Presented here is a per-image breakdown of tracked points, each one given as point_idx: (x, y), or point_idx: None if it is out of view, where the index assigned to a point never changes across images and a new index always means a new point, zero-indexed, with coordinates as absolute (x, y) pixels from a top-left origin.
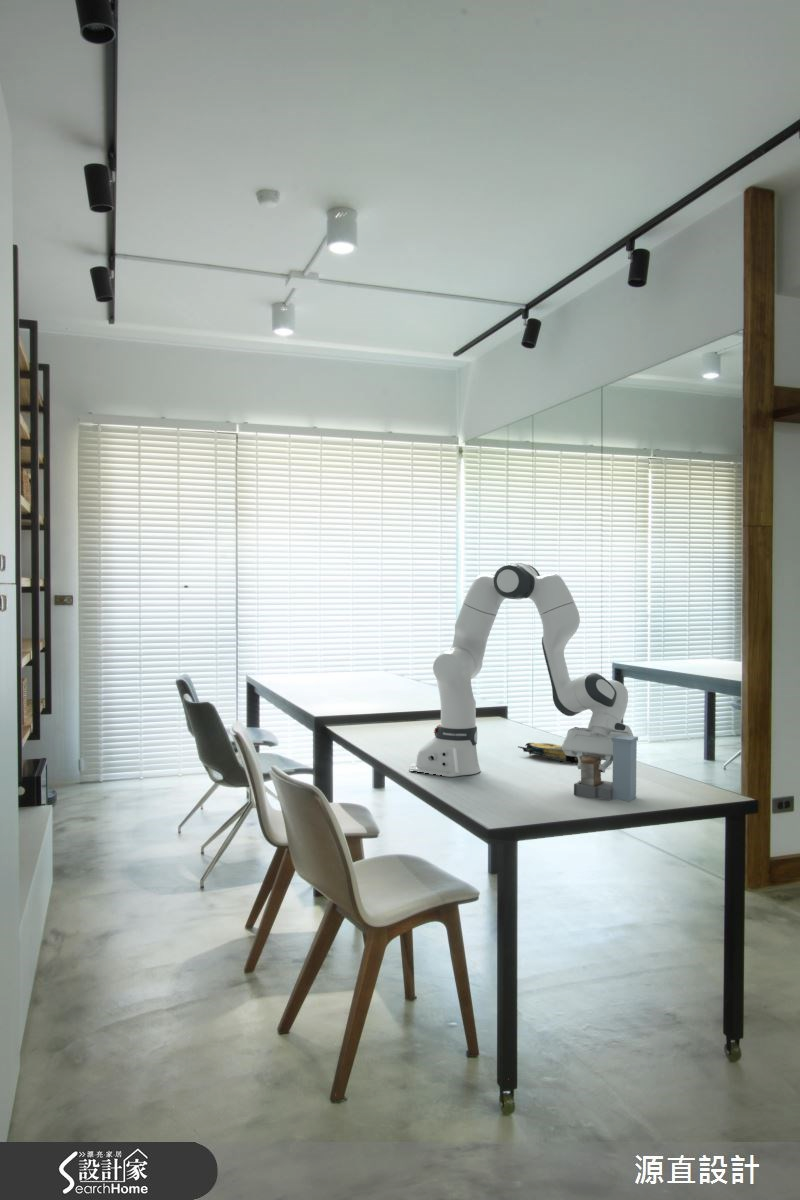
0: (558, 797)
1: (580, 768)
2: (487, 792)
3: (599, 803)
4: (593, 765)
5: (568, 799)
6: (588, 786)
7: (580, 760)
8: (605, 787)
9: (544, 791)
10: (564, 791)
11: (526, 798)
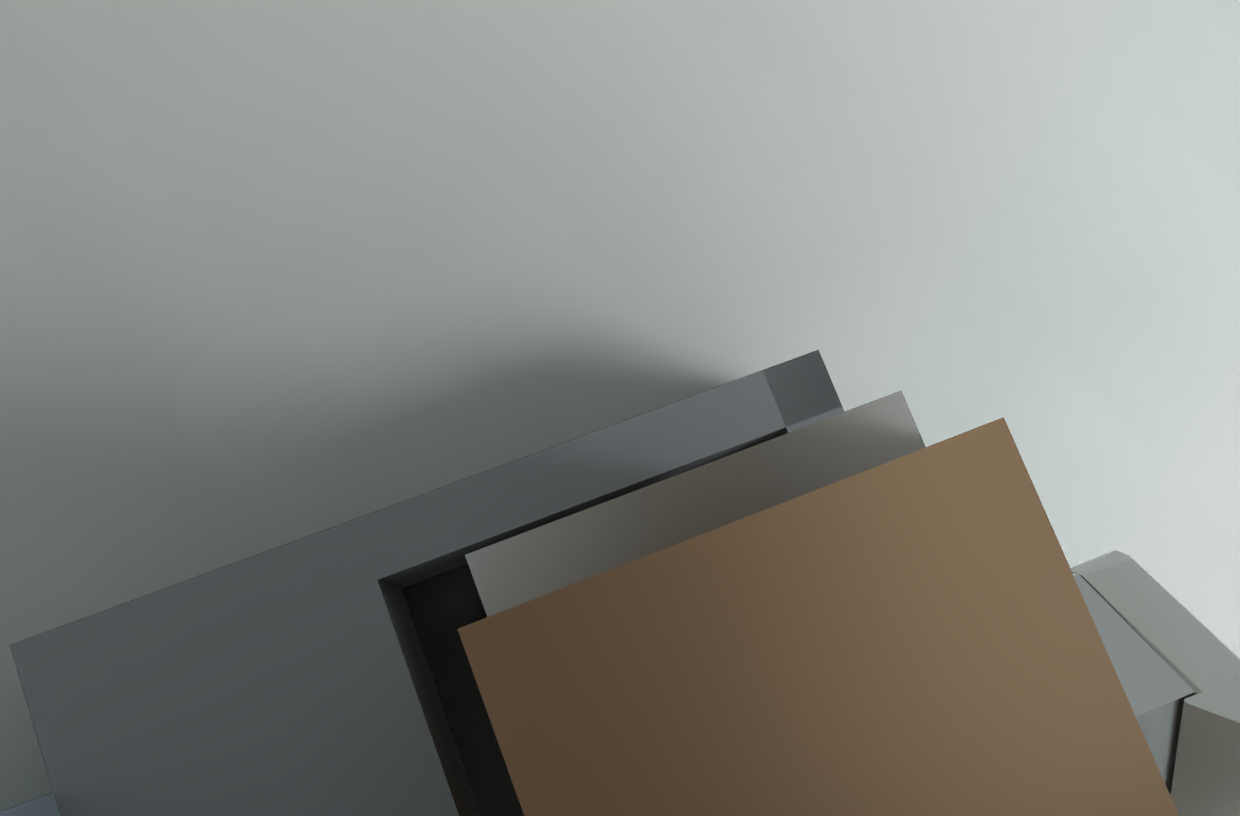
0: (792, 66)
1: None
2: None
3: (96, 315)
4: (482, 600)
5: (606, 99)
6: (511, 466)
7: (1221, 708)
8: (201, 700)
9: (1205, 171)
10: (1037, 446)
11: None
